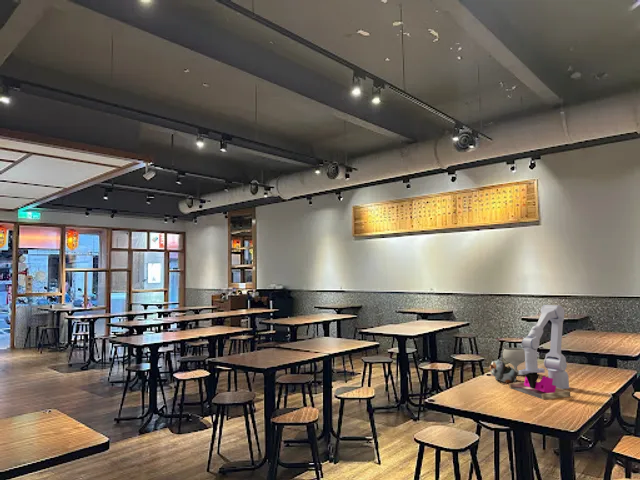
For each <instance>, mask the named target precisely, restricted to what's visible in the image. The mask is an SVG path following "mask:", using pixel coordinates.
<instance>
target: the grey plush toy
mask: <svg viewBox="0 0 640 480" xmlns="http://www.w3.org/2000/svg"><path fill="white" fill-rule="evenodd" d="M489 370H490V374H491V375H492V377H494V378H495V380H497V381H500V382H502V383H506V384H509V383H516V381H517V376H519V375H518V372H516V371H515V370H514V367H513V366H510V365H507V366H506V364H505V362H504V361H502V360H500V359H497V360H495V359H493V358H492V359H491V364H489Z"/></svg>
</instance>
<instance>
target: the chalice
mask: <svg viewBox="0 0 640 480" xmlns="http://www.w3.org/2000/svg"><path fill="white" fill-rule="evenodd" d="M502 351H503V352H502V358H503V359H504V361H506V362H508V364H511V366H512V367H513V369H514V370H515V371H516V372H518V375H517V376H525V374H523V375H521V374H519V369H518V367H519V366H520V365H521V364H522V363H525V351H524V349H523V347H522V348H521V347H505V348H504V349H503V350H502Z"/></svg>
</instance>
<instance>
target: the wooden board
mask: <svg viewBox="0 0 640 480" xmlns="http://www.w3.org/2000/svg"><path fill="white" fill-rule="evenodd" d="M524 382H525V381H521V382H513V383H508V385H509V389H511V390H515V391H517V392H521V393H523V394H526V395H530V396H532V397H536V398H538V399H542V400H549V399H550V400H551V399H558V398H567V397H571V391H570V390H566V389H560V388H557V387H556V389H555V392H554V393H545V392H542V391H539V390H536V389H533V388H530V387H528V386H525V385H524Z"/></svg>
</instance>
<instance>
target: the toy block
mask: <svg viewBox="0 0 640 480" xmlns="http://www.w3.org/2000/svg"><path fill="white" fill-rule="evenodd" d="M523 382H524V385H525V386H528V387H530V385H529V382H528V379H527V377H526V376H525V377H524V381H523ZM552 382H553V379H552V378H548V376H544V375H543V376H542V378H541V380H540V381H537V382H536V385H535V388H533V389H536V390H539V391H542V392H545V393H554V392H555V389H556V386H555V385H552Z"/></svg>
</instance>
